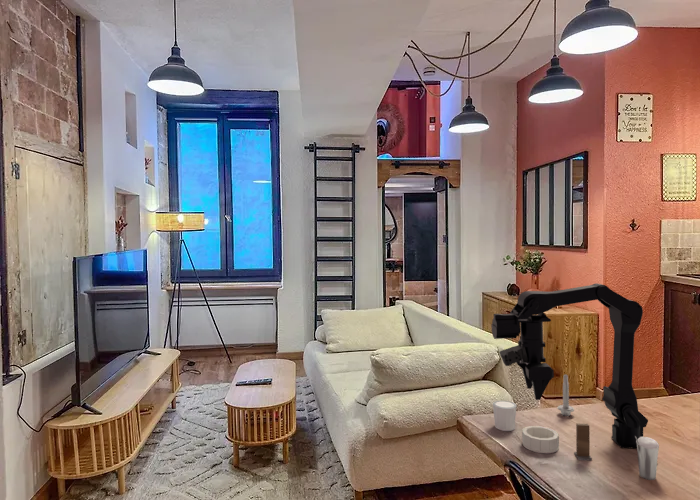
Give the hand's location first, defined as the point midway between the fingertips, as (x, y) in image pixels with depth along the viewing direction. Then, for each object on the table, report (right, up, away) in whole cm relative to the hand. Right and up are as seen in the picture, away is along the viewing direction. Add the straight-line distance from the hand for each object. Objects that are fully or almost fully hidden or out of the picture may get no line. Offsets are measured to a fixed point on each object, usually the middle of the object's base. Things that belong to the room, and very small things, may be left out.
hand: (533, 393), depth 130 cm
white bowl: (+2, -14, -1) cm, 14 cm away
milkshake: (+20, -14, -18) cm, 30 cm away
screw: (+18, -13, +20) cm, 30 cm away
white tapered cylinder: (-4, -14, +12) cm, 19 cm away
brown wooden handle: (+10, -14, -8) cm, 19 cm away
